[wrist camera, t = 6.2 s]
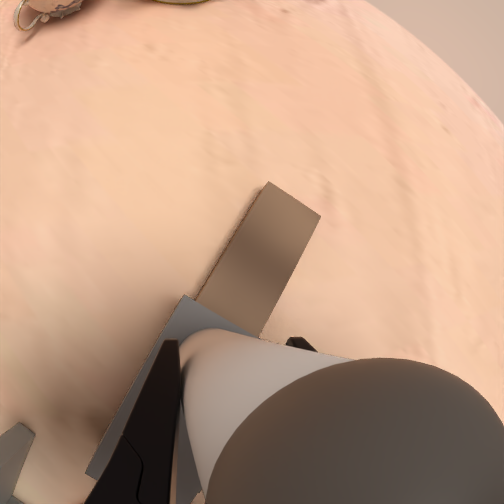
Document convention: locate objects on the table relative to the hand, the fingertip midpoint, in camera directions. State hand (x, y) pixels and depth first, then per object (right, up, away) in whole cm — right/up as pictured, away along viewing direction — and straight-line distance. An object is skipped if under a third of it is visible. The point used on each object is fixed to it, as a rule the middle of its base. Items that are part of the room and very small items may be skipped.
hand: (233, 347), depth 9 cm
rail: (0, +2, +9) cm, 9 cm away
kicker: (-3, -5, +6) cm, 9 cm away
